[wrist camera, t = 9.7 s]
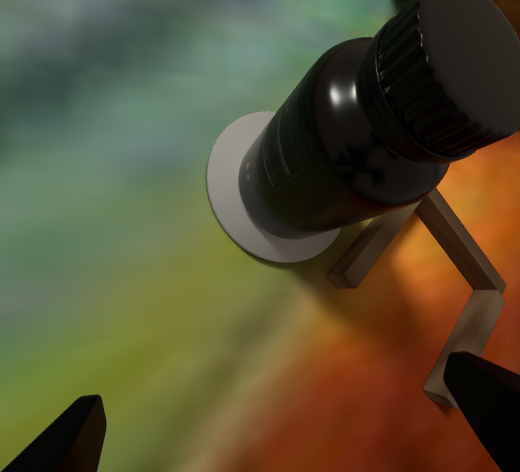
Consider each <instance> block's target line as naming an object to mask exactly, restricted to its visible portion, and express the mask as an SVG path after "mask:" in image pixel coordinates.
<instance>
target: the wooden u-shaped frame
mask: <svg viewBox="0 0 520 472" xmlns="http://www.w3.org/2000/svg"><path fill="white" fill-rule="evenodd" d="M414 210H415V212H416V213H417V214H418V216H419V217H420V218H421V220H422V221H423V222H424V224H425V225H426V226H427V228H428V229H429V230H430V232H431V233H432V234H433V236H434V237H435V238H436V240H437V241H438V242H439V244H440V245H441V246H442V248H443V249H444V250H445V252H446V253H447V254H448V256H449V257H450V258H451V260H452V261H453V262H454V264H455V265H456V266H457V268H458V269H459V270H460V272H461V273H462V274H463V276H464V277H465V278H466V280H467V281H468V282H469V284H470V285H471V286H472V288H473V289H474V291H473V293H472V295H471V297H470V299H469V301H468V303H467V305H466V307H465V309H464V311H463V312H462V314H461V316H460V318H459V320H458V322H457V324H456V326H455V328H454V330H453V332H452V334H451V335H450V337H449V339H448V341H447V343H446V345H445V347H444V349H443V351H442V353H441V355H440V357H439V358H438V360H437V362H436V364H435V366H434V368H433V370H432V372H431V374H430V376H429V378H428V380H427V381H426V383H425V385H424V387H423V390H424V391H425V393H426V394H427V395H428V396H429V397H430V399H431V400H433V401H435V402H438V403H441V404H443V405H446V406H449V407H451V408H454V409H457V407H458V405H457V403H456V402H455V400H454V398H453V397H452V395H451V394H450V392H449V390H448V389H447V387H446V385H445V383H444V380H443V373H444V369H445V365H446V361H447V358H448V355H449V354H450V353H451V352H457V351H467V352H469V353H472V354H474V355H476V356H478V357H480V356H481V354H482V352H483V350H484V347H485V345H486V343H487V341H488V339H489V336H490V334H491V332H492V330H493V328H494V325H495V323H496V321H497V319H498V317H499V314H500V312H501V310H502V308H503V306H504V303H505V301H506V300H505V299H504V298H503V296H502V294H503V292H504V289H505V287H506V283H505V282H504V280H503V279H502V278H501V276H500V275H499V274H498V272H497V271H496V269H495V268H494V267H493V265H492V264H491V263H490V261H489V260H488V258H487V257H486V256H485V254H484V253H483V252H482V250H481V249H480V247H479V246H478V245H477V243H476V242H475V241H474V239H473V238H472V236H471V235H470V234H469V232H468V231H467V230H466V228H465V227H464V225H463V224H462V223H461V221H460V220H459V219H458V217H457V216H456V214H455V213H454V212H453V210H452V209H451V208H450V206H449V205H448V203H447V202H446V201H445V199H444V198H443V197H442V195H441V194H440V192H439V191H438V190H437V188H435V189H434V190H433V191H432V192H431V193H430V194H429V195H428V196H426V197H425V198H424V199H422V200H420V201H419V202H417V203H415V204H412V205H410V206H407V207H404V208H402V209H399V210H396V211H392V212H389V213H386V214H383V215H380V216H377V217H374V218H373V220H372V221H371V222H370V223H369V225H368V226H367V227H366V228H365V229H364V231H363V232H362V233H361V234H360V236H359V237H358V238H357V239H356V240H355V242H354V243H353V244H352V245H351V247H350V248H349V249H348V250H347V251H346V253H345V254H344V255H343V256H342V258H341V259H340V260H339V261H338V262H337V264H336V265H335V266H334V267H333V269H332V270H331V271H330V272H329V273H328V275H327V276H328V277H329V279H330V280H331V281H332V282H333V283H334V284H335V286H336V287H337V288H357V287H358V285H359V284H360V282H361V281H362V280H363V278H364V277H365V276H366V274H367V273H368V272H369V270H370V269H371V268H372V266H373V265H374V264H375V262H376V261H377V260H378V258H379V257H380V256H381V254H382V253H383V252H384V250H385V249H386V248H387V246H388V245H389V244H390V242H391V241H392V239H393V238H394V237H395V235H396V234H397V233H398V231H399V230H400V229H401V227H402V226H403V225H404V223H405V222H406V221H407V219H408V218H409V217H410V215H411V214H412V213H413V211H414Z"/></svg>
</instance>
